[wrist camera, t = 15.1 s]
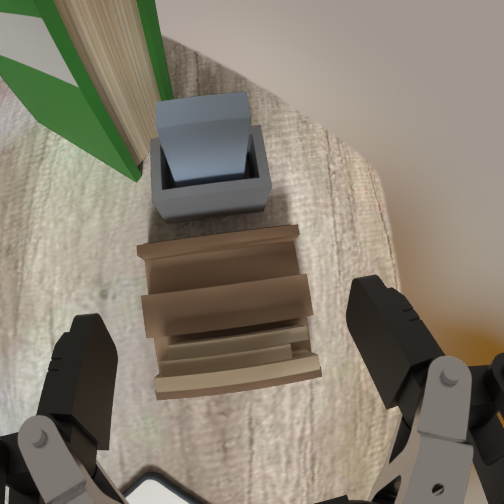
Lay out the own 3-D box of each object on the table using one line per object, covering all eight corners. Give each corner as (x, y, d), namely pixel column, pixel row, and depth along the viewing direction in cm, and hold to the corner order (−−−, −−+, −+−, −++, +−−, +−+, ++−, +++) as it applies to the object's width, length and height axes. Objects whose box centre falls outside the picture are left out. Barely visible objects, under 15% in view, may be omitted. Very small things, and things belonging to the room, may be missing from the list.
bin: (263, 211, 30) (271, 186, 24) (166, 223, 29) (152, 201, 23) (254, 158, 31) (260, 125, 25) (162, 169, 30) (150, 138, 24)
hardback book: (180, 127, 31) (140, -91, 8) (136, 182, 30) (21, -25, 6) (76, 78, 32) (7, -65, 8) (37, 121, 30) (-61, -11, 7)
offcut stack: (300, 358, 26) (320, 369, 20) (171, 376, 25) (156, 392, 19) (295, 324, 27) (313, 326, 21) (165, 342, 26) (149, 348, 20)
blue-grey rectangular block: (241, 192, 29) (250, 117, 17) (181, 199, 29) (155, 128, 17) (238, 172, 30) (246, 91, 18) (180, 180, 29) (155, 102, 17)
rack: (309, 370, 27) (322, 378, 24) (166, 391, 26) (157, 402, 22) (287, 229, 30) (296, 216, 26) (147, 247, 29) (136, 236, 25)
